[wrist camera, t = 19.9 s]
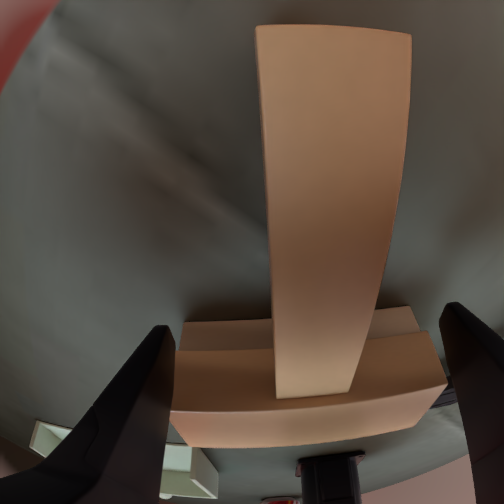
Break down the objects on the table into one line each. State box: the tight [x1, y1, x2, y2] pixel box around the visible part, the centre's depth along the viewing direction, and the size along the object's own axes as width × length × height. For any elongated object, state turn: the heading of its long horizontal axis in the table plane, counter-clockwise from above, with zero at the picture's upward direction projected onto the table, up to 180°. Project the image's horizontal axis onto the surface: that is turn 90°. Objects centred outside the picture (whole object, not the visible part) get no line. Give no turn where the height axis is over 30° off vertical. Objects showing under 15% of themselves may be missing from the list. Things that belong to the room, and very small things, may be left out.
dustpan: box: [29, 420, 219, 499], centre depth 28 cm, size 20×17×3 cm
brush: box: [169, 24, 448, 448], centre depth 9 cm, size 14×10×4 cm
